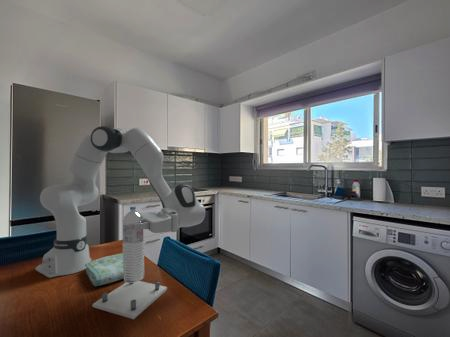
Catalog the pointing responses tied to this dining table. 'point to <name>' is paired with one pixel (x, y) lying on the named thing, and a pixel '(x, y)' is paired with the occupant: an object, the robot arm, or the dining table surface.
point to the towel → (105, 269)
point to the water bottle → (133, 248)
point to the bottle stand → (130, 298)
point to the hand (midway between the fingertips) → (130, 224)
